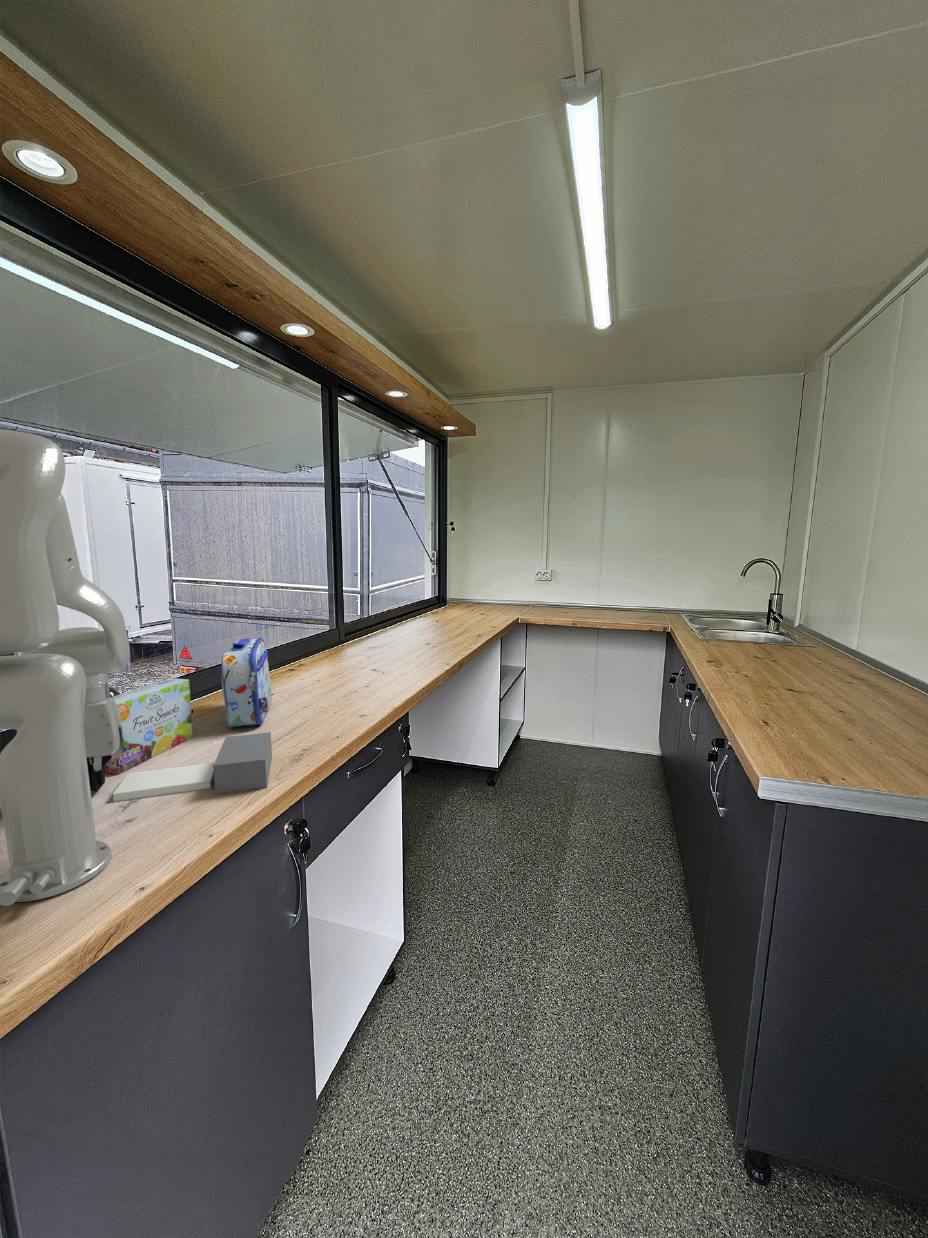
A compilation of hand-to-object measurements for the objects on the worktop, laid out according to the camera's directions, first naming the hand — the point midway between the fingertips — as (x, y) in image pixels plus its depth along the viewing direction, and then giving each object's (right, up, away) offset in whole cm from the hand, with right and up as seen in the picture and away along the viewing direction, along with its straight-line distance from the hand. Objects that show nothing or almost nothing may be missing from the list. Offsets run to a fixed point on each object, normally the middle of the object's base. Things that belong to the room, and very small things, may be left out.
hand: (95, 788), depth 94 cm
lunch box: (+11, +5, +43) cm, 45 cm away
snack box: (-1, +1, +18) cm, 19 cm away
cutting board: (+12, -1, +4) cm, 12 cm away
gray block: (+25, 0, +8) cm, 26 cm away
